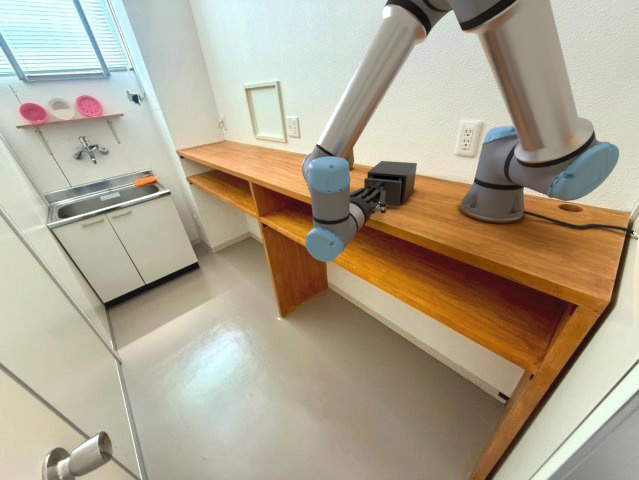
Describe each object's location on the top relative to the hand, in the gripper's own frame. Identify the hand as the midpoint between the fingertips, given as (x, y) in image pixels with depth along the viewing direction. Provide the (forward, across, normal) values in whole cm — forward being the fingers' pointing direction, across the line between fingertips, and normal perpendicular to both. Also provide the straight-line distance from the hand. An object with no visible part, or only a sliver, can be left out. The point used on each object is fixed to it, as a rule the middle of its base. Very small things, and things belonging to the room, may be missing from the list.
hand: (381, 184), depth 77 cm
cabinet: (+12, 0, -7) cm, 14 cm away
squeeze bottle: (+37, -29, -8) cm, 48 cm away
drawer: (+6, 0, -7) cm, 9 cm away
